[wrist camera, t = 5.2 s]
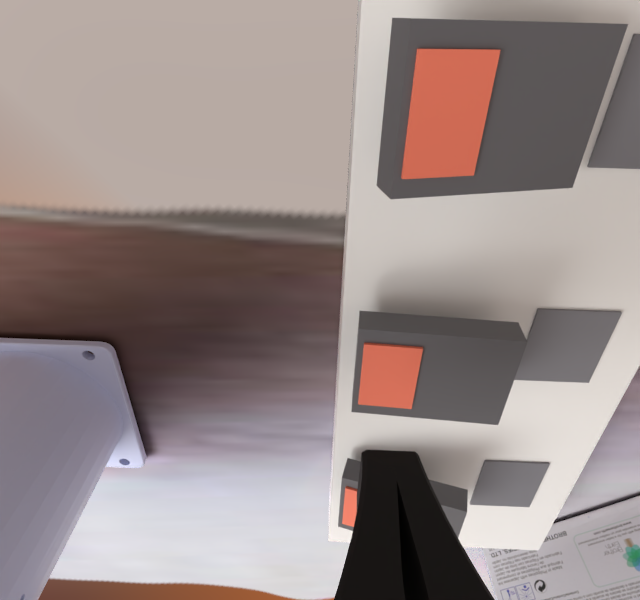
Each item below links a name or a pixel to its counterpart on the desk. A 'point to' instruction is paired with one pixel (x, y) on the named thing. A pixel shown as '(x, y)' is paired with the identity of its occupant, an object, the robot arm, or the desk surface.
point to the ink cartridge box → (575, 559)
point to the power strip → (500, 288)
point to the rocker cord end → (490, 104)
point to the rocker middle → (435, 366)
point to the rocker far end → (447, 495)
